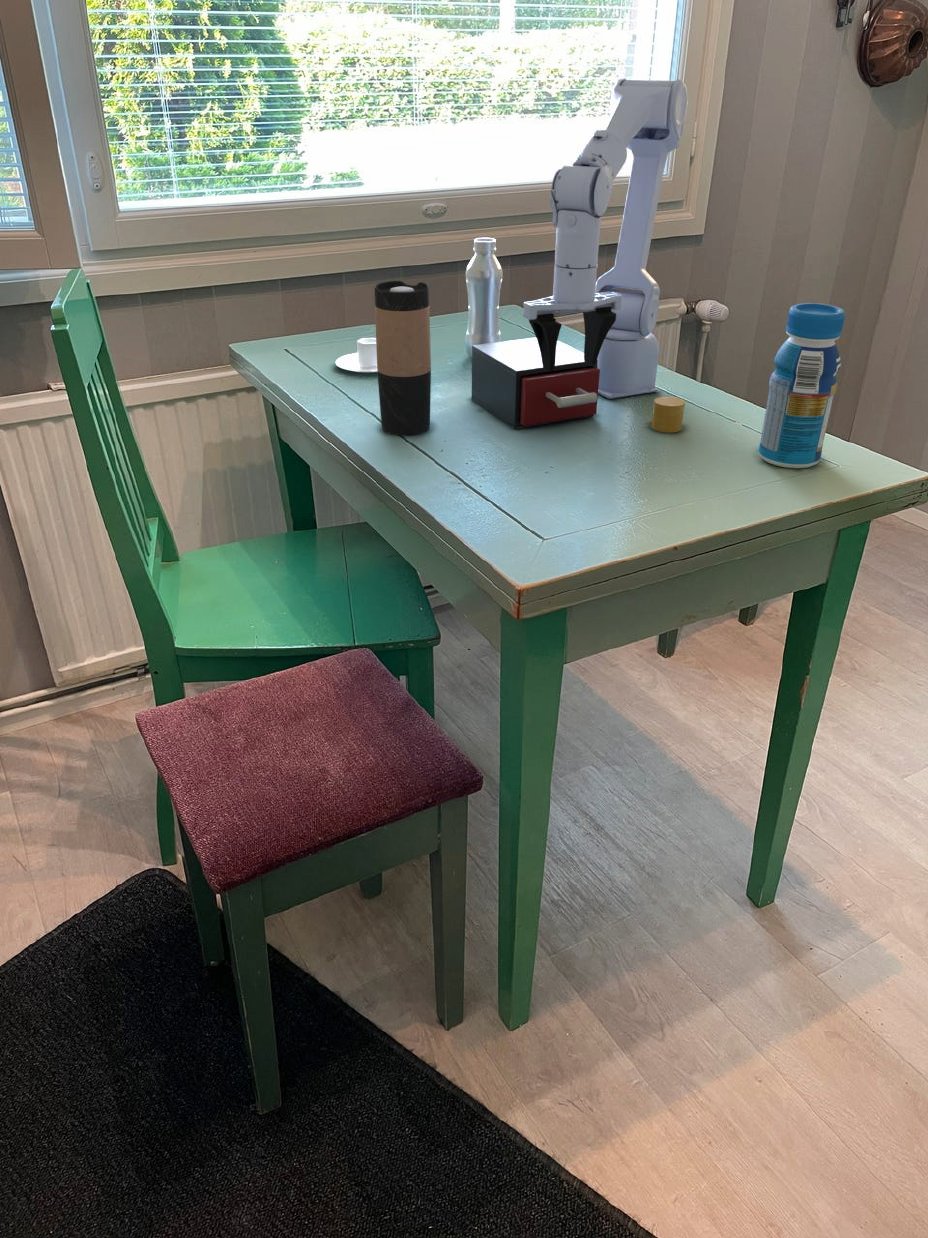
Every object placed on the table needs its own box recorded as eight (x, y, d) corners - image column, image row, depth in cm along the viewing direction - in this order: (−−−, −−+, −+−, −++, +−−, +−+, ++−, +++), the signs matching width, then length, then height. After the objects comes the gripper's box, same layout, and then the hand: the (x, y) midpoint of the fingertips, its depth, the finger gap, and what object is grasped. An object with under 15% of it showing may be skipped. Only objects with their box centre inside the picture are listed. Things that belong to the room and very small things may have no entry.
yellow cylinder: (669, 420, 141) (673, 394, 139) (687, 430, 137) (691, 403, 135) (645, 424, 139) (648, 398, 137) (662, 434, 136) (666, 407, 134)
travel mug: (392, 439, 133) (387, 294, 123) (371, 423, 139) (364, 283, 129) (440, 431, 136) (439, 288, 126) (418, 415, 142) (415, 277, 132)
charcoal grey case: (593, 415, 142) (598, 359, 138) (514, 429, 137) (516, 370, 133) (545, 388, 154) (548, 335, 149) (471, 399, 149) (471, 345, 144)
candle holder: (401, 376, 159) (401, 350, 156) (331, 375, 159) (329, 349, 157) (407, 356, 169) (406, 332, 167) (340, 355, 169) (339, 331, 167)
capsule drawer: (613, 424, 137) (618, 378, 133) (539, 436, 132) (541, 389, 129) (551, 388, 151) (553, 345, 147) (482, 398, 146) (483, 355, 143)
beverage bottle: (743, 455, 129) (768, 306, 118) (782, 442, 133) (810, 297, 123) (794, 475, 123) (826, 320, 113) (833, 461, 127) (867, 310, 117)
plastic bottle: (507, 356, 169) (511, 238, 159) (488, 365, 164) (491, 244, 154) (477, 350, 172) (479, 234, 161) (457, 359, 167) (458, 240, 157)
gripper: (543, 275, 120) (538, 379, 127) (638, 265, 125) (628, 366, 132) (517, 264, 125) (513, 365, 132) (609, 256, 130) (601, 353, 138)
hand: (569, 365), depth 133 cm, fingers open, 6 cm apart
